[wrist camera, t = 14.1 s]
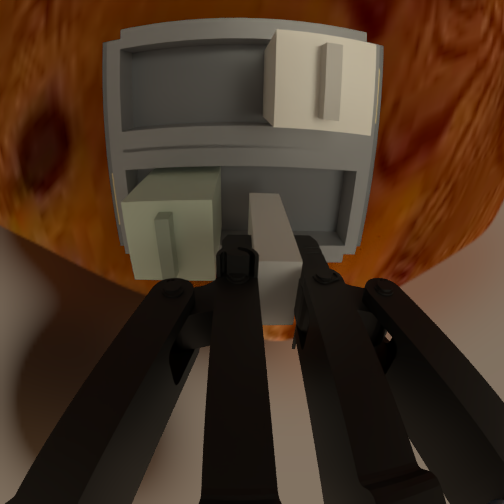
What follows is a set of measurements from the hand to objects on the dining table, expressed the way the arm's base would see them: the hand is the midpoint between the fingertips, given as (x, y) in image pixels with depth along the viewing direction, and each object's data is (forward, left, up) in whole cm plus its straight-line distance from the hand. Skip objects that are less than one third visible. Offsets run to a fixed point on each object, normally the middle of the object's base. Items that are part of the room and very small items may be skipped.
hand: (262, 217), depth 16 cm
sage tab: (0, -4, -3) cm, 5 cm away
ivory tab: (-7, +2, -3) cm, 8 cm away
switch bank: (-3, -1, -4) cm, 6 cm away
